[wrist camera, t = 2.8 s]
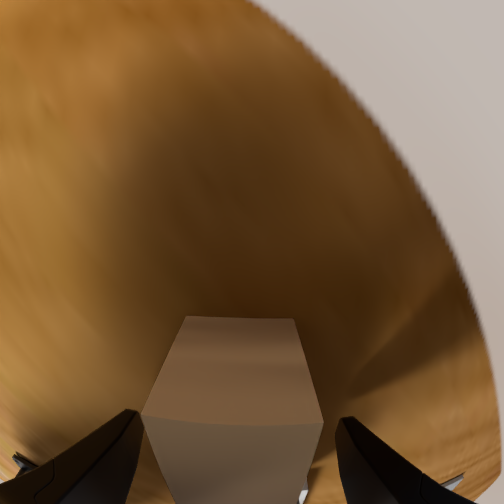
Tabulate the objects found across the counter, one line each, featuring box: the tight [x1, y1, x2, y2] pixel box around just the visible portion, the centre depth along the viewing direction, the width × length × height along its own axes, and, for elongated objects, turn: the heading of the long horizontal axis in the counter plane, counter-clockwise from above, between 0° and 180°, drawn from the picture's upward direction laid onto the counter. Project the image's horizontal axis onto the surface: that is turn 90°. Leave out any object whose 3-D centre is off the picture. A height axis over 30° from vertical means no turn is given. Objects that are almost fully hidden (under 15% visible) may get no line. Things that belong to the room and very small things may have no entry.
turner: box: [140, 316, 324, 504], centre depth 7 cm, size 13×6×4 cm, turn 179°
